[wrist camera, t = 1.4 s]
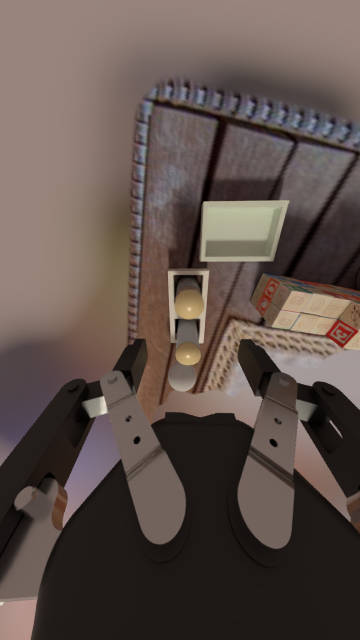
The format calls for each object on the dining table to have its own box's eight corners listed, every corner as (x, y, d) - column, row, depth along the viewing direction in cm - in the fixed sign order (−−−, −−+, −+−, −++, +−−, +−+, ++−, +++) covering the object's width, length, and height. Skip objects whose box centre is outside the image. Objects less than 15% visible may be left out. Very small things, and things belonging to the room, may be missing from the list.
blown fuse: (198, 275, 29) (205, 291, 19) (197, 295, 30) (203, 319, 21) (177, 275, 29) (173, 291, 19) (177, 295, 31) (174, 319, 21)
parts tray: (278, 204, 23) (289, 200, 21) (265, 259, 27) (273, 261, 25) (201, 206, 24) (203, 201, 21) (199, 259, 27) (200, 261, 25)
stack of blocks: (248, 302, 31) (281, 339, 20) (262, 272, 28) (309, 297, 17) (342, 318, 32) (419, 360, 22) (366, 291, 29) (469, 325, 19)
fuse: (196, 315, 32) (201, 345, 23) (195, 330, 34) (200, 365, 24) (178, 315, 33) (175, 345, 23) (178, 330, 34) (175, 365, 25)
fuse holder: (206, 268, 28) (208, 270, 25) (201, 335, 35) (203, 343, 32) (169, 268, 28) (168, 271, 26) (172, 335, 35) (170, 342, 32)
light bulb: (167, 347, 37) (161, 381, 28) (189, 341, 36) (191, 373, 27) (175, 364, 39) (173, 400, 30) (197, 359, 38) (201, 394, 29)
